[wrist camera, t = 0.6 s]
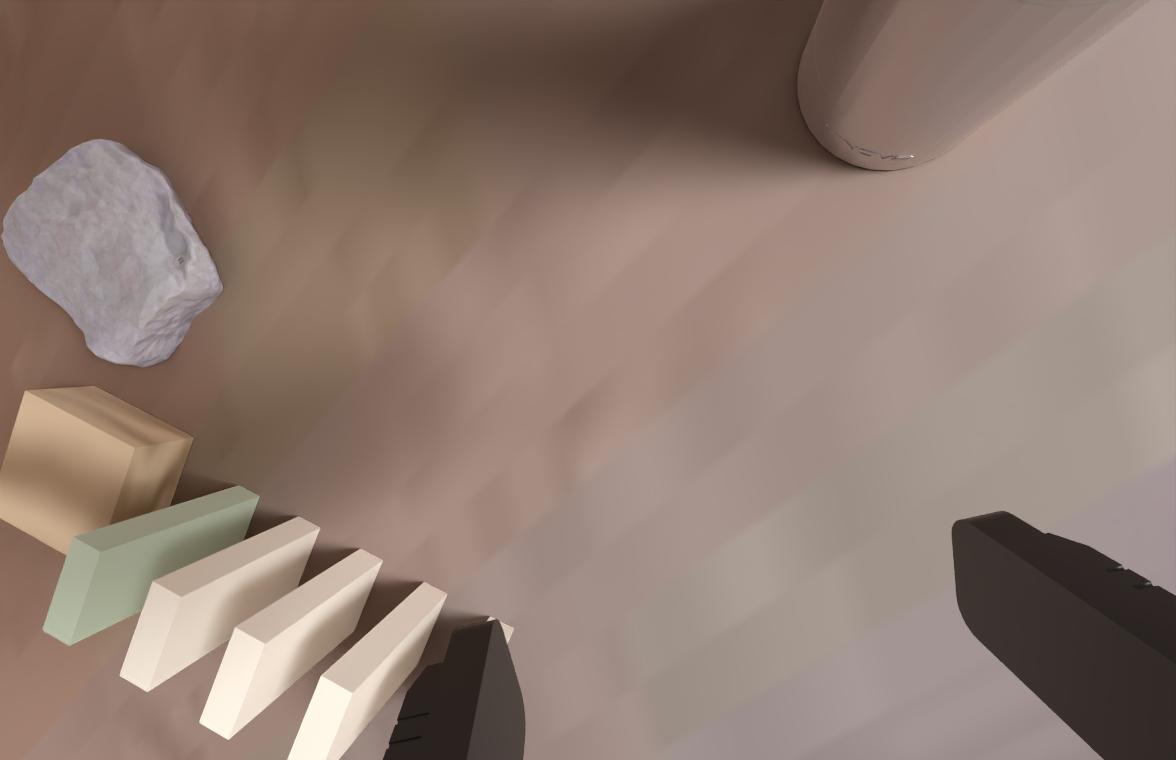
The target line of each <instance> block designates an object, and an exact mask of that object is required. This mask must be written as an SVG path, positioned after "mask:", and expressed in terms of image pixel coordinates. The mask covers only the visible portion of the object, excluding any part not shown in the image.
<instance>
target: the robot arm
mask: <svg viewBox="0 0 1176 760" xmlns="http://www.w3.org/2000/svg"><path fill="white" fill-rule="evenodd" d="M1150 1H1151V0H824V2H823V4H822V7H821V9H820V12H819V14H818V17H817V19H816V22H815V24H814V27H813V29H812V31H811V34H810V36H809V39H808V41H807V44H806V46H805V49H804V51H803V53H802V57H801V61H800V66H799V70H798V81H797V94H798V99H799V104H800V109H801V113H802V115H803V117H804V119H805V122H806V124H807V126H808V128H809V130H810V131H811V132H812V134H813V135H814V136H815V138H816V139H817V140H818V142H819V143H820V144H821V145H822V146H823V147H825V148H826V149H827V150H828V151H829V152H831V153H832V154H833V155H834V156H836V157H838V158H840V159H842V160H844V161H846V162H848V163H850V164H852V165H856V166H860V167H864V168H867V169H872V170H897V169H903V168H910V167H914V166H917V165H919V164H922V163H925V162H928V161H930V160H933V159H934V158H936V157H938V156H939V155H941V154H943V153H944V152H946V151H948V150H949V149H951V148H952V147H954V146H955V145H956V144H958V143H959V142H961V141H962V140H963V139H965V138H966V137H967V136H969V135H970V134H971V133H973V132H974V131H975V130H977V129H978V128H979V127H981V126H982V125H983V124H985V123H986V122H988V121H989V120H991V119H992V118H994V117H995V116H996V115H998V114H999V113H1000V112H1002V111H1003V110H1004V109H1006V108H1007V107H1008V106H1010V105H1011V104H1012V103H1014V102H1015V101H1016V100H1018V99H1019V98H1020V97H1022V96H1023V95H1025V94H1026V93H1027V92H1029V91H1030V90H1031V89H1033V88H1034V87H1035V86H1037V85H1038V84H1039V83H1041V82H1042V81H1043V80H1045V79H1046V78H1047V77H1049V76H1050V75H1051V74H1053V73H1054V72H1055V71H1057V70H1058V69H1060V68H1061V67H1062V66H1064V65H1065V64H1066V63H1068V62H1069V61H1070V60H1072V59H1073V58H1074V57H1076V56H1077V55H1078V54H1080V53H1081V52H1082V51H1084V50H1085V49H1086V48H1088V47H1089V46H1090V45H1092V44H1093V43H1095V42H1096V41H1097V40H1099V39H1100V38H1101V37H1103V36H1104V35H1105V34H1107V33H1108V32H1109V31H1111V30H1112V29H1113V28H1115V27H1116V26H1117V25H1119V24H1120V23H1121V22H1123V21H1124V20H1125V19H1127V18H1128V17H1130V16H1131V15H1132V14H1134V13H1135V12H1136V11H1138V10H1139V9H1140V8H1142V7H1143V6H1144V5H1146V4H1147V3H1148V2H1150ZM952 545H953V557H954V570H955V583H956V596H957V602H958V606H959V609H960V612H961V615H962V617H963V619H964V621H965V623H966V625H967V626H968V628H969V629H970V631H971V632H972V633H973V635H974V636H975V637H976V638H977V639H978V640H979V641H980V642H981V643H982V644H983V645H984V646H985V647H986V648H987V649H988V650H989V651H991V652H992V653H993V654H994V655H995V656H996V657H997V658H998V659H999V660H1000V661H1001V662H1002V663H1003V664H1004V665H1005V666H1006V667H1007V668H1008V669H1009V670H1010V671H1012V672H1013V673H1014V674H1015V675H1016V676H1017V677H1018V678H1019V679H1020V680H1021V681H1022V682H1023V683H1024V684H1025V685H1026V686H1027V687H1028V688H1029V689H1030V690H1031V691H1033V692H1034V693H1035V694H1036V695H1037V696H1038V697H1039V698H1040V699H1041V700H1042V701H1043V702H1044V703H1045V704H1046V705H1047V706H1048V707H1049V708H1050V709H1051V710H1052V711H1053V712H1055V713H1056V714H1057V715H1058V716H1059V717H1060V718H1061V719H1062V720H1063V721H1064V722H1065V723H1066V724H1067V725H1068V726H1069V727H1070V728H1071V729H1072V730H1073V731H1074V732H1076V733H1077V734H1078V735H1079V736H1080V737H1081V738H1082V739H1083V740H1084V741H1085V742H1086V743H1087V744H1088V745H1089V746H1090V747H1091V748H1092V749H1093V750H1094V751H1095V752H1097V753H1098V754H1099V755H1100V756H1101V757H1102V758H1103V759H1104V760H1176V596H1175V595H1174V594H1172V593H1170V592H1168V591H1167V590H1165V589H1163V588H1161V587H1160V586H1153V585H1152V584H1151V581H1149V580H1147V579H1146V578H1144V577H1142V576H1140V575H1139V574H1137V573H1135V572H1133V571H1132V570H1130V569H1127V570H1125V569H1124V568H1123V566H1122V565H1121V564H1119V563H1118V562H1116V561H1114V560H1112V559H1111V558H1109V557H1107V556H1105V555H1104V554H1102V553H1100V552H1098V551H1097V550H1095V549H1093V548H1091V547H1090V546H1087V545H1084V544H1081V543H1078V542H1075V541H1072V540H1069V539H1066V538H1063V537H1060V536H1057V535H1054V534H1051V533H1046V534H1044V533H1042V532H1041V531H1039V530H1037V529H1036V528H1034V527H1032V526H1031V525H1029V524H1027V523H1026V522H1024V521H1022V520H1021V519H1019V518H1017V517H1016V516H1014V515H1012V514H1010V513H1008V512H1005V511H999V512H994V513H989V514H985V515H980V516H976V517H971V518H966V519H962V520H958V521H956V522H955V523H954V524H953V527H952ZM397 720H398V724H397V725H395V727H394V730H393V733H392V735H391V738H390V741H389V749H386V752H385V755H384V758H383V760H523V754H524V742H525V712H524V704H523V698H522V693H521V690H520V686H519V683H518V679H517V676H516V672H515V669H514V666H513V662H512V659H511V655H510V652H509V648H508V645H507V642H506V638H505V635H504V631H503V628H502V626H501V623H500V622H499V620H497V619H495V620H490V621H486V622H481V623H477V624H472V625H467V626H463V627H458V628H455V629H454V631H453V633H452V636H451V639H450V643H449V646H448V650H447V653H446V656H445V660H444V662H443V663H438V664H434V665H429V666H427V667H426V668H425V670H424V671H423V672H422V673H421V675H420V676H419V677H418V679H417V680H416V681H415V682H414V684H413V685H412V686H411V687H410V689H409V690H408V691H407V694H406V696H405V699H404V702H403V705H402V708H401V710H400V713H399V716H398V719H397Z"/></svg>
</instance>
